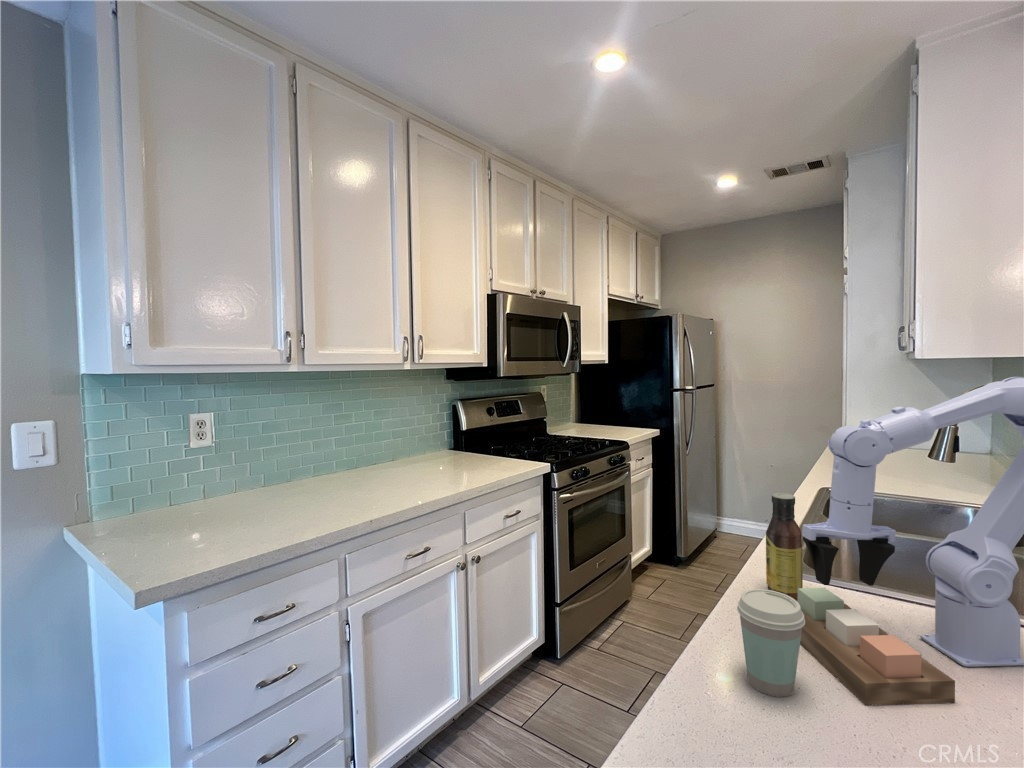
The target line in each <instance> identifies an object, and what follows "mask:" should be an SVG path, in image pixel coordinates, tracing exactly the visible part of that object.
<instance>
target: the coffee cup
mask: <svg viewBox="0 0 1024 768" xmlns="http://www.w3.org/2000/svg"><path fill="white" fill-rule="evenodd" d="M736 610H737V613H738V614H739V617H740V619H739V620H740V627H741V635H742V641H743V650H744V651H743V652H744V658H745V666H746V667H745V668H746V673H747V681H748V683H750V685H751V686H752V687H753V688H754V689H755V690H757V691H759V692H761V693H763V694H765V695H768V696H773V697H778V698H779V697H782V698H784V697H788V696H790V695H792V694H793V693H794V691H795V690H794V689H795V682H796V679H797V678H796V676H797V669H798V662H799V654H800V646H801V644H800V640H801V632H802V627H803V626H804V624H805V619H804V614H803V612H802V610H801V607H800V604H799V603H798V600H797V599H793V598H791V597H790V596H788V595H785V594H783V593H780V592H776V591H771V590H768V589H763V588H756V589H748V590H745V591H743V592H742V593H741V595H740V598H739V600H738V601H737V606H736Z"/></svg>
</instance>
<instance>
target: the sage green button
mask: <svg viewBox="0 0 1024 768" xmlns="http://www.w3.org/2000/svg"><path fill="white" fill-rule="evenodd" d="M797 602H798V603H799V604H800V607H801V610H803V611H804V612H805V613H806V614H807V615H809V616H810V617H811V618H812V619H813V620H826V610H838V609H844V603H845V601H844V600H843V599H842V598H840V597H839V596H838V595H836V594H835V593H834V592H831V591H830V590H829V589H828V588H826V587H803V588H798V599H797Z"/></svg>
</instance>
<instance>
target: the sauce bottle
mask: <svg viewBox="0 0 1024 768" xmlns="http://www.w3.org/2000/svg"><path fill="white" fill-rule="evenodd" d="M771 503H772V514H771V515H772V516H771V519H770V522H769V523H768V525H767V527H766V531H765V556H766V557H765V565H766V567H765V569H766V571H765V573H766V575H765V576H766V580H765V581H766V582H765V583H766V585H767V586H766V587H767V590H771V591H776V592H780V593H783V594H785V595H788V596H790V597H791V598H793V599H795V600H798V588H804V587H803V577H804V576H803V573H804V571H803V543H802V538H803V536H802V530H801V528H800V526H799V524H798V523H797V521H796V520H795V517H796V516H795V505H796V496H795V495H793V494H791V493H786V492H776V493H772V494H771Z"/></svg>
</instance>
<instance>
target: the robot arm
mask: <svg viewBox="0 0 1024 768" xmlns="http://www.w3.org/2000/svg"><path fill="white" fill-rule="evenodd" d="M890 410H891V412H890V413H887V414H884V415H882V416H879V417H875V418H873V419H868V418H864V419H862V420H860V421H859V423H860V424H859V426H855V425H845V426H840V427H838V428H836V430H835V432H833V433H832V435H831V436H830V439H828V440H827V447H828V450H829V452H830V453H831V454H832V455H833V462H832V463H833V464H832V472H831V484H830V497H829V512H828V519H826V521H823V522H817V523H808V524H802V530H801V534H802V540H803V542H804V544H805V545H806V548H807V550H808V552H809V555H810V558H811V561H812V565H813V569H814V574H815V580H816V581H817V582H818V583H820V584H822V585H823V586H830V582H831V578H832V577H831V576H832V570H833V564H834V561H835V558H836V555H837V554H838V552H839V550H840V548H839V547H837V546H835V545H833V544H832V541H830V540H853V541H854V540H855V541H856V543H857V547H858V554H859V562H858V564H859V568H858V577H859V581H861V582H863V583H865V584H866V585H868V586H871V587H874V585H875V583H876V580H877V577H878V575H879V573H880V572H881V569H882V568H883V566H884V564H885V563H886V562H887V560H888V559H889V558H890V557H891V556H892V555H893V554H894V553H895V551H896V546H895V545H894V544H892V543H895V542H896V534H897V530H895V529H893V528H891V527H889V526H884V525H875V524H874V525H873V524H872V523H873V513H874V512H873V511H874V499H875V491H876V490H875V487H876V477H877V476H876V475H877V474H876V473H877V466H878V465H879V464H880V463H881V462H883V461H884V460H885V458H886V456H887V455H890V454H893V453H896V452H899V451H902V450H906V449H909V448H912V447H914V446H917V445H920V444H924V443H926V442H929V441H931V440H932V438H933V437H934V434H935V432H936V430H939V429H943V428H946V427H950V426H953V425H956V424H960V423H964V422H967V421H971V420H975V419H979V418H981V417H984V416H985V417H986V416H988V415H992V414H1001V415H1002V416H1003V417H1004V418H1005V419H1006V420H1007V421H1008V422H1009V423H1010V424H1011V425H1012V426H1013V427H1014V428H1015V429H1016V430H1017V431H1018V432H1019V434H1020V436H1021V438H1022V440H1023V441H1024V376H1012V377H1008V378H1007V377H1006V378H1005V379H1003V380H1002V379H1001V380H999V381H994V382H988V383H987V384H985V385H984V386H982V387H979V388H976V389H973V390H971V391H969V392H965V393H964V394H961V395H959V396H956V397H954V398H951V399H948V400H946V401H944V402H940V403H938V404H935V405H933V406H931V407H928V408H926V409H923V410H921V409H918V408H916V407H912V406H908V407H904V406H896V407H893V408H891V409H890ZM1023 535H1024V445H1023V446H1022V448H1021V449H1020V451H1019V452H1017V454H1016V456H1015V458H1014V459H1013V460H1012V461H1011V464H1010V465H1009V466H1008V468H1006V471H1005V472H1004V473H1003V475H1002V476H1001V478H1000V479H999V481H998V482H997V484H996V485H995V486H994V488H993V490H992V491H991V492H990V493H989V494H988V497H987V498H986V499H985V501H984V502H983V504H982V505H981V507H980V508H979V510H978V511H977V513H976V514H975V515H974V517H973V518H972V520H971V521H970V522H969V524H968V526H967V527H966V528H963V529H960V530H957V531H953V532H950V533H949V534H948V535H947V536H946V538H944V540H943V541H941V542H940V543H938V544H936V545H934V546H932V547H931V548H930V549H929V551H927V553H926V556H925V564H926V567H927V569H928V571H929V573H930V574H932V575H933V576H934V584H935V592H934V593H935V594H934V596H935V598H934V601H935V602H934V603H935V604H934V606H935V610H934V613H935V614H934V615H935V616H934V624H935V625H934V633H928V634H927V633H926V634H920V635H919V638H920V639H921V640H923V641H924V642H926V643H927V644H929V645H931V646H932V647H934V648H935V649H937V650H938V651H940V653H943V654H944V655H945V656H947V657H949V658H950V659H952V660H954V662H956V663H958V664H959V665H960V666H963V667H966V668H967V667H969V668H970V667H971V668H972V667H974V668H975V667H1001V666H1002V667H1003V666H1004V667H1005V666H1024V659H1023V658H1021V623H1022V622H1021V618H1020V615H1019V613H1018V610H1017V609H1016V607H1015V606H1014V604H1013V603H1011V602H1010V600H1008V599H1009V598H1010V596H1011V595H1012V592H1013V587H1014V583H1013V582H1014V580H1015V577H1016V575H1017V574H1018V573H1019V571H1020V568H1019V565H1018V563H1017V560H1016V558H1015V556H1014V554H1013V550H1014V548H1015V547H1016V545H1017V544H1018V543H1019V542H1020V540H1021V538H1022V537H1023Z"/></svg>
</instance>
